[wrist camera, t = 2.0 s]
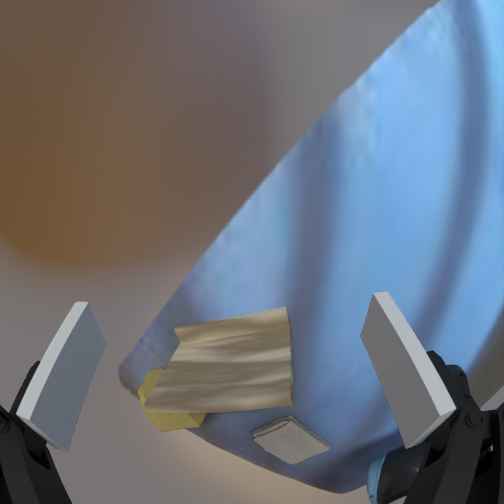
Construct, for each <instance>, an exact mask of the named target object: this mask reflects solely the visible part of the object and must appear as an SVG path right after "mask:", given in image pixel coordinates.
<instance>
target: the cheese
mask: <svg viewBox="0 0 504 504" xmlns="http://www.w3.org/2000/svg"><path fill="white" fill-rule="evenodd" d="M163 371H164V368H159V369H152V370H150V371H149V372H148V373H147V374H146V375H145V378H144V380H145V383H144V384H142V385H141V386H140V387H139V389H138V395H139V396H140V400H141V407H142V410H143V411H144V412H145V414H146V415H147V416H148V417H149V419H150V420H151V422H152V423H153V424H154V425H155V426H156V427H157V428H158V429H159V430H160V431H161V432H166V431H171V430H177V429H185V428H195V427H200V425H201V424H202V422H203V420H204V418H205V416H206V414H207V413H162V412H148V411H147V409H146V408H145V406H144V405H143V404H144V403H145V401H146V399H147V398H148V396H149V394H150V393H151V391H152V389H153V388H154V386H155V384H156V383H157V381H158V379H159V378H160V376H161V374H162V373H163Z"/></svg>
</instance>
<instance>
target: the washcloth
mask: <svg viewBox="0 0 504 504" xmlns="http://www.w3.org/2000/svg"><path fill="white" fill-rule="evenodd" d="M251 433H252V435H253V436H254V438H255V439H254V441H255V442H256V443H258V444H259V445H261V447H263V449H264V450H265V451H267V452H269V453H271V454H273V455H275V456H276V457H278V458H280V459H282V460H284V461H286V462H287V463H289V464H297V463H299V462H302V461H304V460H305V459H307V458H309V457H312V456H316V455H318V454H321V453H323V452H325V451H327V450H329V449H330V448H331V445H330V444H329V443H327V442H326V441H324V440H323V439H321V438H320V437H318V436H317V435H315V434H314V433H313V432H311V431H310V430H308V429H307V428H306V427H304V426H303V425H302V424H300V422H298V421H297V420H295V419H294V418H293V417H292V416H290V415H289V417H287V418H282V419H279V420H277V421H274V422H272V423H270V424H268V425H266V426H263V427H261V428H259V429H256V430H254V431H253V432H251Z"/></svg>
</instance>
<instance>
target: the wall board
mask: <svg viewBox="0 0 504 504" xmlns="http://www.w3.org/2000/svg"><path fill="white" fill-rule="evenodd" d="M174 330H175V333H176V335H177V337H178V340H179V342H180V345H179V346H178V348H177V350H176V351H175V353H174V354H173V356H172V358H171V359H170V361H169V363H168V364H167V366H166V368H165V369H164V371H163V373H162V374H161V376H160V378H159V379H158V381H157V383H156V384H155V386H154V388H153V389H152V391H151V393H150V394H149V396H148V398H147V399H146V401H145V403H144V404H143V405H144V406H145V408H146V409H147V411H148V412H162V413H214V412H233V411H246V410H257V409H266V408H275V407H282V406H289V405H293V366H292V328H291V324H290V320H289V316H288V312H287V308H286V306H285V307H280V308H275V309H271V310H266V311H261V312H255V313H250V314H245V315H239V316H234V317H228V318H223V319H217V320H211V321H205V322H198V323H192V324H185V325H179V326H177V327H176V328H175V329H174Z"/></svg>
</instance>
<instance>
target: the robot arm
mask: <svg viewBox="0 0 504 504" xmlns="http://www.w3.org/2000/svg"><path fill="white" fill-rule="evenodd" d="M360 337H361V339H362V341H363V343H364V346H365V348H366V350H367V352H368V355H369V357H370V359H371V362H372V364H373V366H374V368H375V371H376V373H377V376H378V378H379V380H380V383H381V385H382V388H383V390H384V392H385V395H386V397H387V400H388V402H389V405H390V407H391V410H392V413H393V415H394V418H395V420H396V423H397V426H398V428H399V431H400V434H401V437H402V439H403V442H404V445H403V446H401V447H399V448H396V449H394V450H392V451H388V452H387V453H385V454H384V455H382V456H380V457H378V458H375V459H374V460H372V461H371V463H370V464H369V467H368V469H367V477H366V482H367V492H368V494H369V500H370V502H371V504H504V402H503V403H502V404H501V405H500V406H499V407H498V408H497V409H496V410H489V411H481V410H480V409H479V407H478V406H477V404H476V402H475V401H474V400H473V398H472V396H471V395H470V390H469V385H468V380H467V376H466V374H465V372H464V371H463V370H462V368H461V367H460V366H458V365H447V366H446V364H445V363H444V361H443V359H442V358H441V357H440V356H439V355H438V354H437V353H435V352H434V351H433V350H432V351H428V352H425V350H424V348H423V347H422V345H421V343H420V342H419V340H418V338H417V337H416V335H415V334H414V332H413V330H412V329H411V327H410V326H409V324H408V322H407V321H406V319H405V318H404V316H403V315H402V313H401V312H400V310H399V309H398V307H397V306H396V304H395V303H394V301H393V300H392V298H391V297H390V295H389V294H388V292H380V293H373V295H372V299H371V302H370V306H369V309H368V313H367V316H366V319H365V322H364V326H363V329H362V332H361V335H360ZM106 344H107V343H106V341H105V339H104V337H103V334H102V333H101V330H100V328H99V326H98V324H97V322H96V319H95V317H94V315H93V312H92V310H91V308H90V305H89V303H88V302H76V303H75V304H74V306H73V307H72V309H71V311H70V312H69V314H68V315H67V317H66V319H65V320H64V322H63V324H62V325H61V327H60V329H59V330H58V332H57V334H56V335H55V337H54V339H53V340H52V342H51V344H50V346H49V347H48V350H47V351H46V353H45V355H44V357H43V358H42V360H41V361H37V362H36V363H35V364H34V365H33V366H32V367H31V368H30V370H29V372H28V374H27V376H26V379H25V380H24V382H23V384H22V385H23V386H21V388H20V390H19V392H18V394H17V396H16V399H15V401H14V403H13V405H12V408H11V410H10V412H9V413H8V412H7V411H6V410H5V409H4V408H3V407H2V406H1V405H0V504H72V502H71V500H70V498H69V496H68V494H67V492H66V490H65V488H64V486H63V484H62V482H61V479H60V477H59V474H58V472H57V470H56V467H55V465H54V462H53V460H52V457H51V454H50V452H49V450H48V448H47V447H46V443H47V442H48V443H49V444H51V445H52V446H53V447H54V448H56V449H59V450H62V451H65V452H67V453H68V451H69V447H70V444H71V440H72V437H73V434H74V430H75V427H76V424H77V421H78V418H79V415H80V412H81V409H82V406H83V403H84V400H85V397H86V395H87V392H88V389H89V386H90V383H91V381H92V378H93V376H94V373H95V371H96V368H97V365H98V363H99V361H100V358H101V356H102V353H103V351H104V348H105V346H106ZM492 445H493V451H491V446H492Z"/></svg>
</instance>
